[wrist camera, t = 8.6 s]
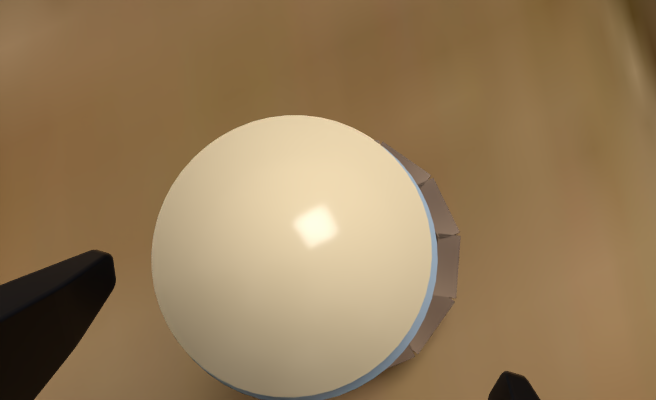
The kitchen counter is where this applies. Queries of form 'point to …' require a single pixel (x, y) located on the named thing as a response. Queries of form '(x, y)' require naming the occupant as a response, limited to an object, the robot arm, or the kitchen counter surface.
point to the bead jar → (294, 258)
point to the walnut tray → (445, 251)
